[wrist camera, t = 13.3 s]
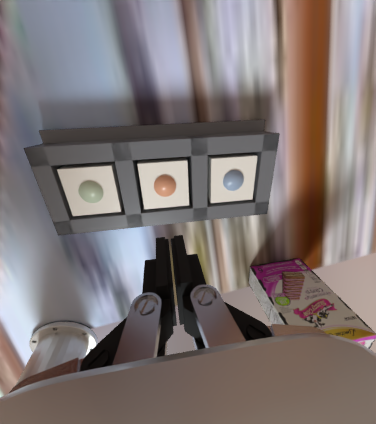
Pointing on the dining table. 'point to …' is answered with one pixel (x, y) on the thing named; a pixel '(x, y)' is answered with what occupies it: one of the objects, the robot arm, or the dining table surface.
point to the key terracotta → (164, 182)
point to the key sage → (91, 188)
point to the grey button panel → (152, 149)
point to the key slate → (231, 177)
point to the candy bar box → (305, 301)
